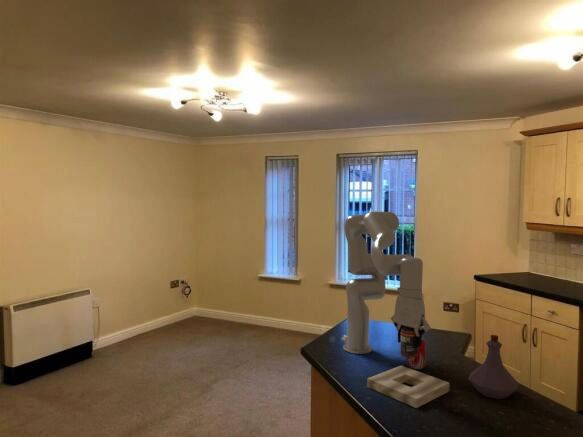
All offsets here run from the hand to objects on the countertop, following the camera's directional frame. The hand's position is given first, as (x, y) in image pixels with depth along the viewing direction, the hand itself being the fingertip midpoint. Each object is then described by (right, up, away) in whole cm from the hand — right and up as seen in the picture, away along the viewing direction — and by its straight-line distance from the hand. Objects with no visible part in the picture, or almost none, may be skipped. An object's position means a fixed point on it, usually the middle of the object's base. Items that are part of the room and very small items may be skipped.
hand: (409, 343), depth 149 cm
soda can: (+8, -16, +21) cm, 28 cm away
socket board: (0, -16, +1) cm, 16 cm away
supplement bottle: (0, -4, 0) cm, 4 cm away
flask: (+29, -17, -1) cm, 33 cm away
